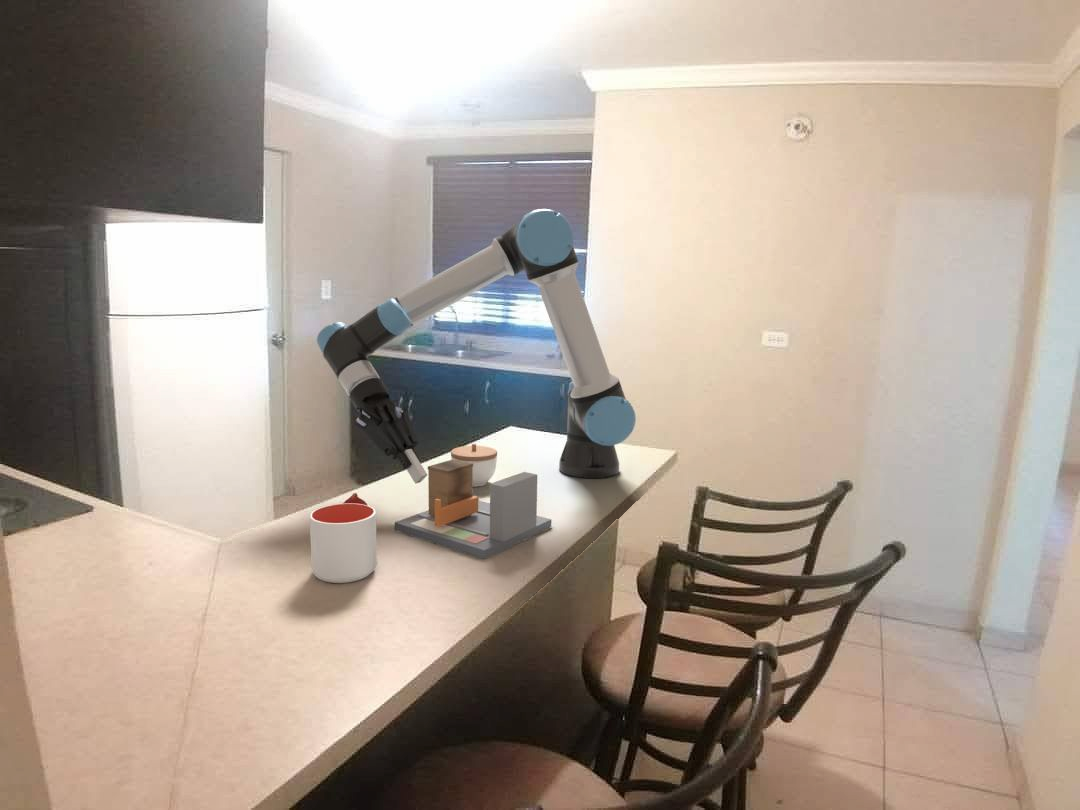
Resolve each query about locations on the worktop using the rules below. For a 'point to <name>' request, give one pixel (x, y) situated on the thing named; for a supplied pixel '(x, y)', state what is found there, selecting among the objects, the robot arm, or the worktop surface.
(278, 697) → the worktop surface
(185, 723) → the worktop surface
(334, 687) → the worktop surface
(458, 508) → the orange bracket
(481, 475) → the lidded jar
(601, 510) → the worktop surface
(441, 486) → the brown rectangular block
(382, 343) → the robot arm
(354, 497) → the onion
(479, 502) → the base
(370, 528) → the cup
